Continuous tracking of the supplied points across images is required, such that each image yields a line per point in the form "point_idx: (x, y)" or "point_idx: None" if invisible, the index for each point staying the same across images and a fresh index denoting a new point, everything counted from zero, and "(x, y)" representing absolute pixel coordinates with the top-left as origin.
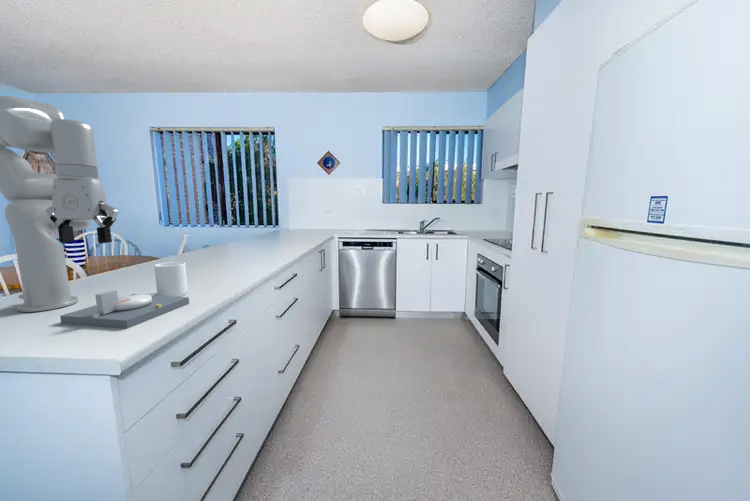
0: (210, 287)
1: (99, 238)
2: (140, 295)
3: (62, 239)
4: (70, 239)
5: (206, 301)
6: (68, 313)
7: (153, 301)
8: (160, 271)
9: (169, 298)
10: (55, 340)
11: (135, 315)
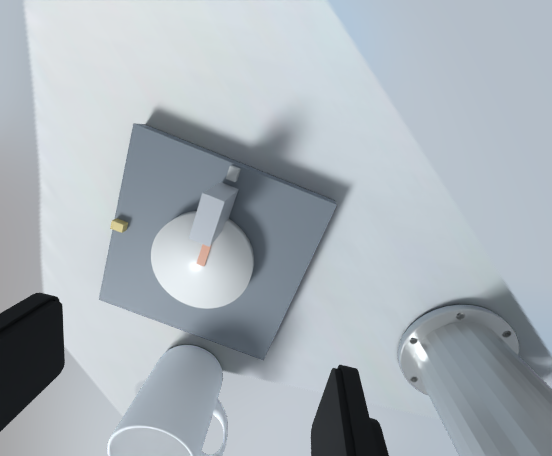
0: None
1: (10, 311)
2: (195, 298)
3: (339, 384)
4: (318, 423)
5: (77, 298)
6: (327, 220)
7: None
8: (166, 411)
9: (142, 299)
10: (265, 68)
11: (138, 164)
